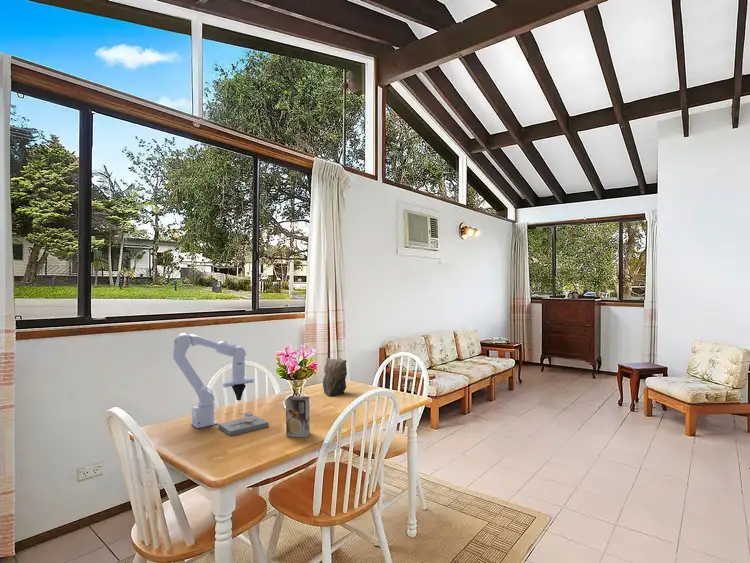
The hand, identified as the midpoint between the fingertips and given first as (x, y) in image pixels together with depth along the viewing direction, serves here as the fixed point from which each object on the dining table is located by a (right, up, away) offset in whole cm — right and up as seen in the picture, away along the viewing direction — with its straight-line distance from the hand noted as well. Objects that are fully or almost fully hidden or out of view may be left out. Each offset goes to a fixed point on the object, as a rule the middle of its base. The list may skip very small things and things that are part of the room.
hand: (238, 399), depth 208 cm
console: (+6, -10, -11) cm, 16 cm away
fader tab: (+7, -7, -9) cm, 14 cm away
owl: (+41, -9, +46) cm, 62 cm away
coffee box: (+32, -10, -20) cm, 39 cm away
